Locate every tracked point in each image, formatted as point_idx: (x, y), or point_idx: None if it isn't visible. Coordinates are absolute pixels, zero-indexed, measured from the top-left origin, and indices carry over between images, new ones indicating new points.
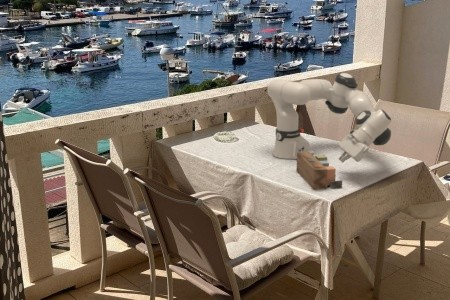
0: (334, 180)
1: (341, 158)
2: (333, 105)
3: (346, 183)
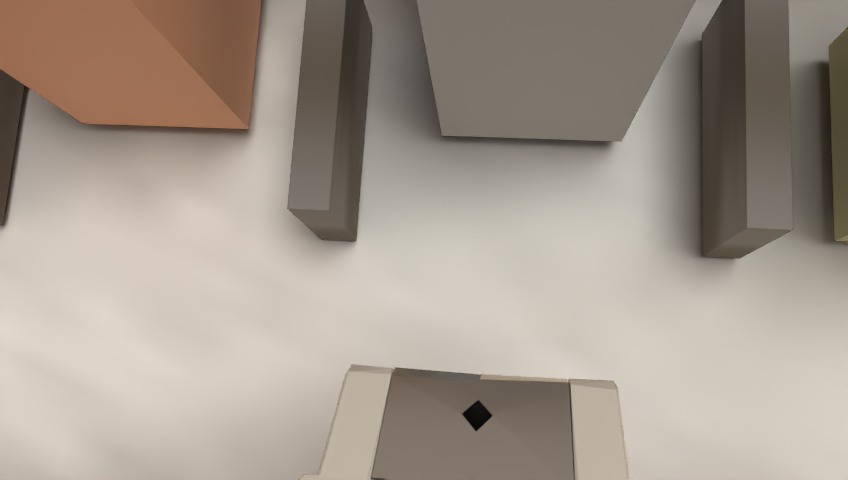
0: (32, 80)
1: (393, 423)
2: None
3: (179, 422)
